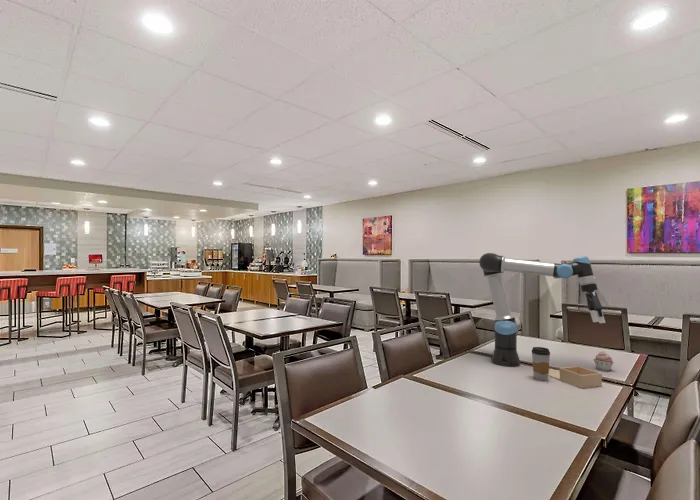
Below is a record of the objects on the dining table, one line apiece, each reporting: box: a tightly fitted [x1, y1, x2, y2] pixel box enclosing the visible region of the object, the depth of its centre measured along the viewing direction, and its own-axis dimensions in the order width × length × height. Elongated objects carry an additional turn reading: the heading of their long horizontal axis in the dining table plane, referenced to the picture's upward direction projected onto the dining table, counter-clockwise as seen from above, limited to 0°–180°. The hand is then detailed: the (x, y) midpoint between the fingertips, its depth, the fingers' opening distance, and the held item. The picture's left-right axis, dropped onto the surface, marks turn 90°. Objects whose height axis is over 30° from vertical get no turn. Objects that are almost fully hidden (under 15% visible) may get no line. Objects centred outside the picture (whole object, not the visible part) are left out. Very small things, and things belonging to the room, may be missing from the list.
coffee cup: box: [531, 346, 551, 382], centre depth 181 cm, size 8×8×15 cm
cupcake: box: [592, 351, 615, 372], centre depth 198 cm, size 9×9×10 cm
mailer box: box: [548, 365, 603, 390], centre depth 182 cm, size 28×12×6 cm, turn 18°
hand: (599, 322), depth 197 cm, fingers open, 13 cm apart
